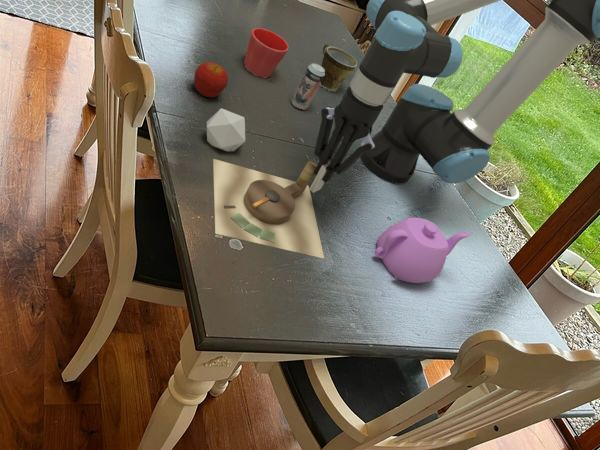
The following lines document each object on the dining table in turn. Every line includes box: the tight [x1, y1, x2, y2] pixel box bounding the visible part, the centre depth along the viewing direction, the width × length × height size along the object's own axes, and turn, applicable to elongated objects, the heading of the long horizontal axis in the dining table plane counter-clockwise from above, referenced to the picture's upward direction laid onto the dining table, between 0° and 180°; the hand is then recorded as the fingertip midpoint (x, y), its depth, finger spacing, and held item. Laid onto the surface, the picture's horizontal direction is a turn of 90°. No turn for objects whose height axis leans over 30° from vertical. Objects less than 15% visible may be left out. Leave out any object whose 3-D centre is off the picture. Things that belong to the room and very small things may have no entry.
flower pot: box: [243, 27, 290, 78], centre depth 156 cm, size 11×11×10 cm
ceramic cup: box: [321, 44, 358, 91], centre depth 169 cm, size 13×10×10 cm
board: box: [212, 158, 325, 260], centre depth 115 cm, size 22×22×1 cm
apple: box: [194, 61, 229, 98], centre depth 136 cm, size 8×8×8 cm
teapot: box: [374, 217, 471, 284], centre depth 120 cm, size 20×13×12 cm, turn 110°
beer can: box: [291, 62, 325, 110], centre depth 151 cm, size 5×5×12 cm
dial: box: [244, 160, 318, 224], centre depth 115 cm, size 18×10×7 cm, turn 144°
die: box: [206, 107, 246, 152], centre depth 123 cm, size 8×9×10 cm
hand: (314, 189), depth 121 cm, fingers closed
